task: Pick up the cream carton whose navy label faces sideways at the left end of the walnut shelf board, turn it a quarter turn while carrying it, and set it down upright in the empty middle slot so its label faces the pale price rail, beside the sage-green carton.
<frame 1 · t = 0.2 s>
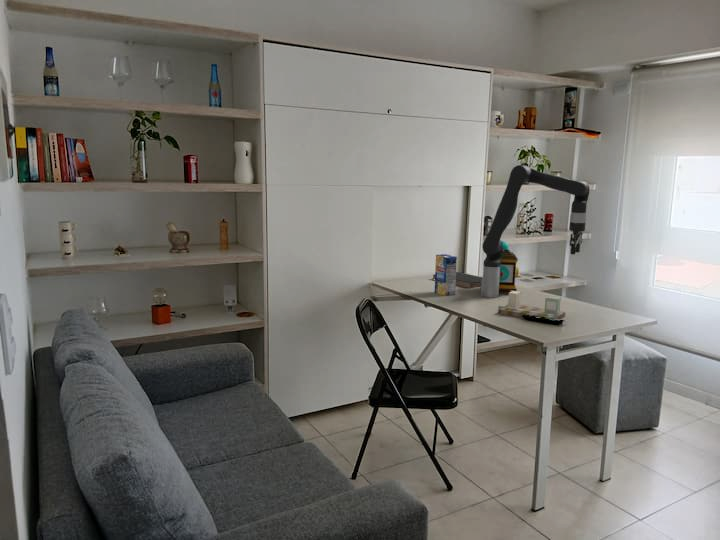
hand: (575, 253, 284), 29 cm above the table, tool pointing down, fingers open, 8 cm apart
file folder: (463, 283, 355), on the table
beverage box: (444, 294, 320), on the table
green carton: (551, 313, 269), point 2 cm above the table, touching walnut shelf
decorative lantern: (499, 291, 329), on the table
walnut shelf: (531, 314, 276), on the table
cream carton: (514, 307, 281), point 2 cm above the table, touching walnut shelf
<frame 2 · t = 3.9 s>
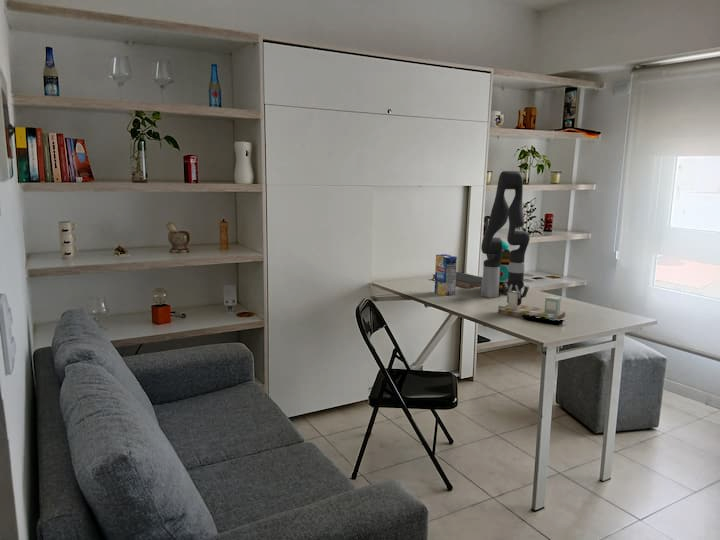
hand: (514, 304, 280), 4 cm above the table, tool pointing down, fingers closed on cream carton, 4 cm apart
cream carton: (514, 307, 281), point 2 cm above the table, touching gripper, walnut shelf
everything else where it was.
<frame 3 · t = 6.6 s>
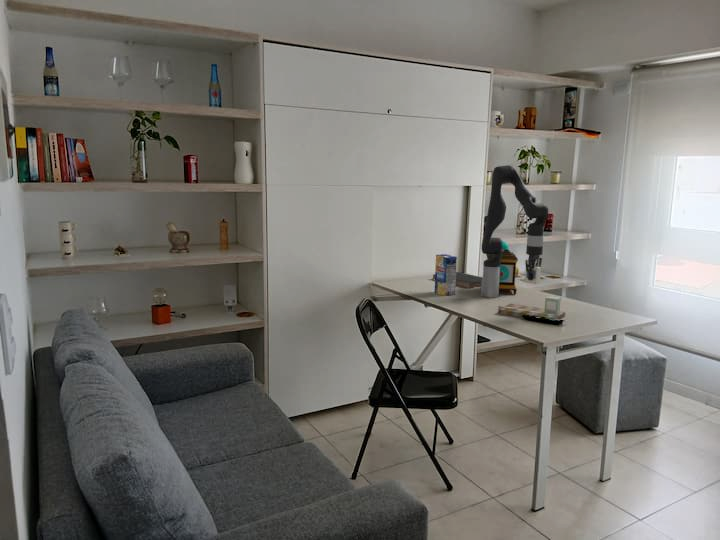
hand: (532, 279, 273), 18 cm above the table, tool pointing down, fingers closed on cream carton, 4 cm apart
cream carton: (532, 282, 273), point 16 cm above the table, touching gripper
everything else where it was.
when the fingers open (5 cm above the table, at t = 9.5 s): cream carton drops 1 cm, resting on walnut shelf.
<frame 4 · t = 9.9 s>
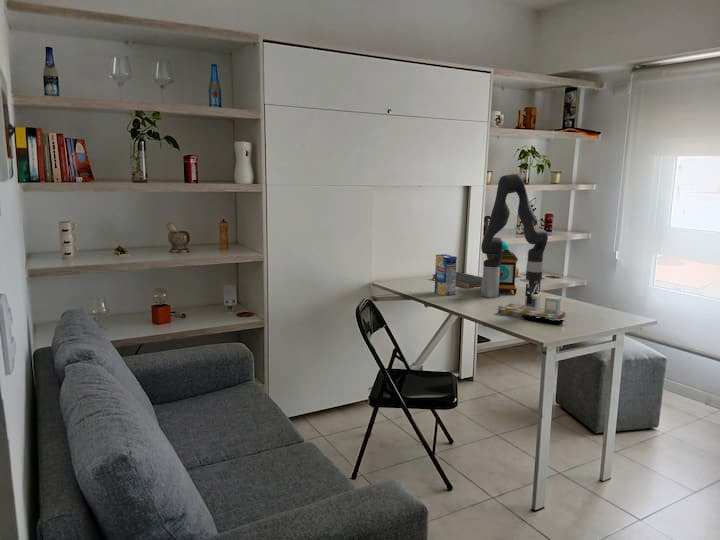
hand: (532, 302, 275), 6 cm above the table, tool pointing down, fingers open, 8 cm apart
cream carton: (531, 310, 275), point 2 cm above the table, touching walnut shelf
everything else where it was.
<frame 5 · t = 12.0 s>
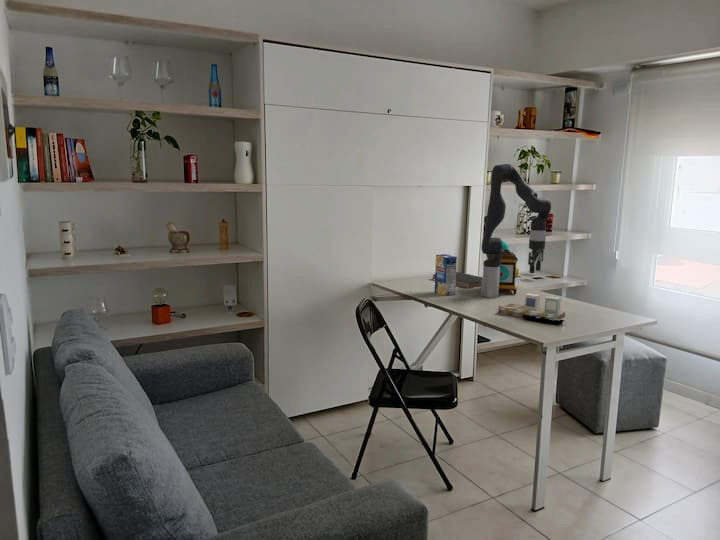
hand: (534, 271, 275), 21 cm above the table, tool pointing down, fingers open, 8 cm apart
nothing on the table moved.
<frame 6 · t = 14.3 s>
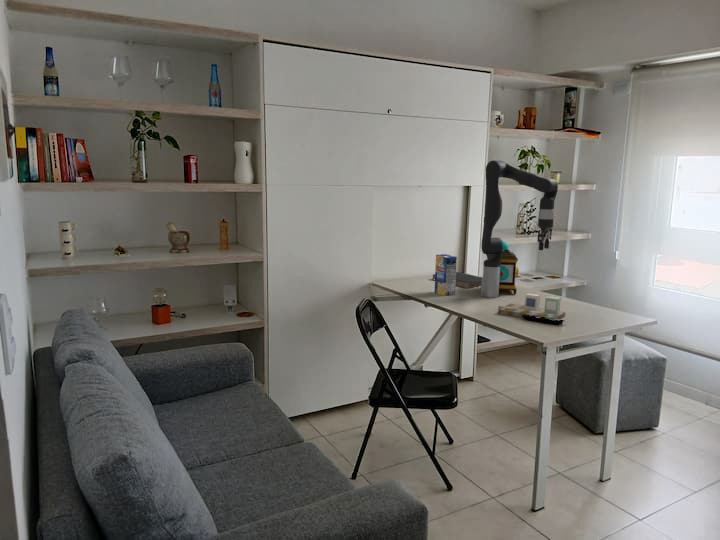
hand: (543, 249, 289), 30 cm above the table, tool pointing down, fingers open, 8 cm apart
nothing on the table moved.
at the end: cream carton 0.1 cm off-centre on the walnut shelf, point 2.0 cm above the walnut shelf's base; cream carton tilted 0°; green carton moved 0.0 cm from its start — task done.
